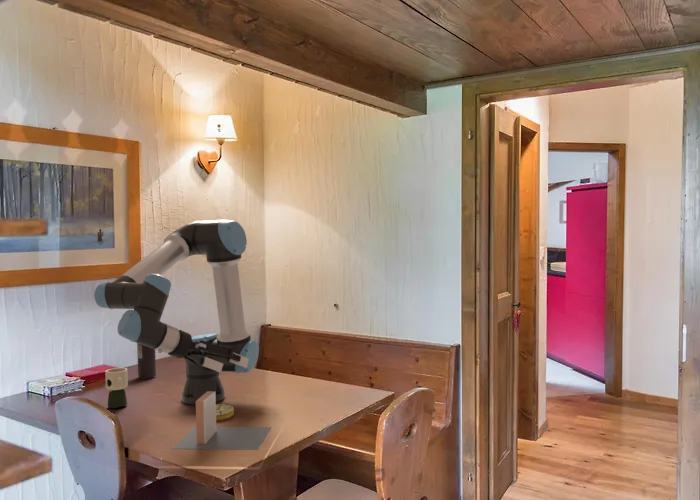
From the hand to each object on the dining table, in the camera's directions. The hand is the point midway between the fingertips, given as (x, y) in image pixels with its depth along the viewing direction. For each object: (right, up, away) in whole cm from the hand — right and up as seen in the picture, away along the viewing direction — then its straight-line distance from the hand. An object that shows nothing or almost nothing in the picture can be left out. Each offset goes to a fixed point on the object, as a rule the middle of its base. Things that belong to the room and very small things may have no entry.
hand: (234, 365), depth 174 cm
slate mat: (-1, -20, -8) cm, 21 cm away
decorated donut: (-8, -20, +11) cm, 24 cm away
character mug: (-46, -20, +26) cm, 56 cm away
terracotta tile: (-6, -19, -8) cm, 22 cm away
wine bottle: (-50, -19, +67) cm, 86 cm away
